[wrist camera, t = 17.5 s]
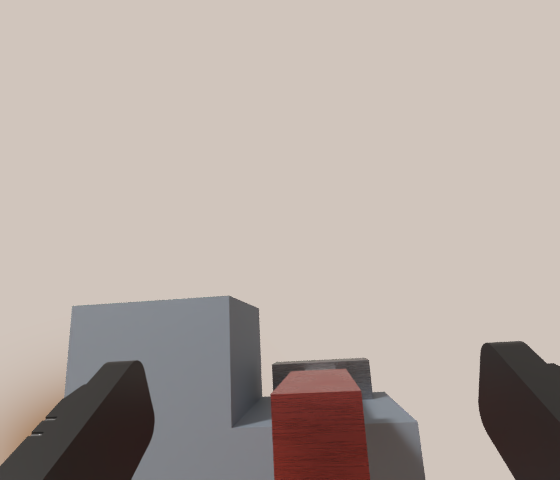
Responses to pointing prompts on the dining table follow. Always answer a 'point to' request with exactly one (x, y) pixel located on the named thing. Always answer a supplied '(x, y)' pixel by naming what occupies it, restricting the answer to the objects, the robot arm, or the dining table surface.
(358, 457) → the grey red bar
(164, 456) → the stand
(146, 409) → the robot arm
